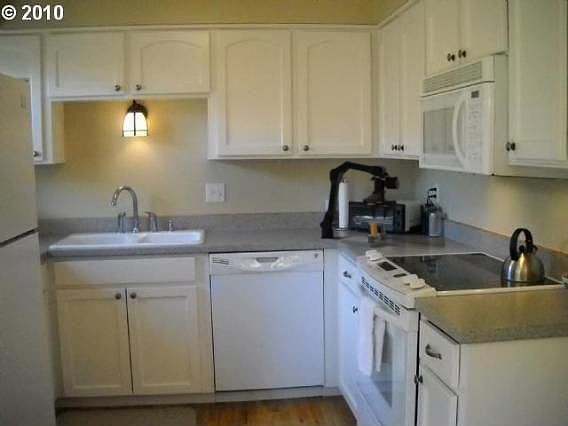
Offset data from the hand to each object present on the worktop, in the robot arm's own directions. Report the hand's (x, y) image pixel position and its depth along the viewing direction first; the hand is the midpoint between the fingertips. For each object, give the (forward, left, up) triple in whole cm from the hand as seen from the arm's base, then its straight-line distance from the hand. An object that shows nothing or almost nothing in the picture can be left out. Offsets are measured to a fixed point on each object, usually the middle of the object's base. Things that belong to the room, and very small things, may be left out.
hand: (379, 217), depth 302 cm
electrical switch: (-3, +15, -13) cm, 20 cm away
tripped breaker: (-1, -9, -10) cm, 13 cm away
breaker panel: (-8, -5, -13) cm, 16 cm away
